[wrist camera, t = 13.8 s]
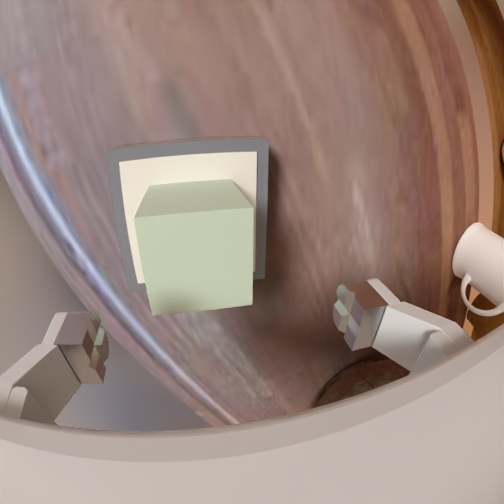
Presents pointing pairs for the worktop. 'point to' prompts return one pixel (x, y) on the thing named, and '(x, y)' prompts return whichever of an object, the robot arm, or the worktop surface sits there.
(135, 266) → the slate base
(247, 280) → the green block
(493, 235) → the mug
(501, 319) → the disposable coffee cup
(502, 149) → the garlic bulb
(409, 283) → the worktop surface
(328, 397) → the jug
